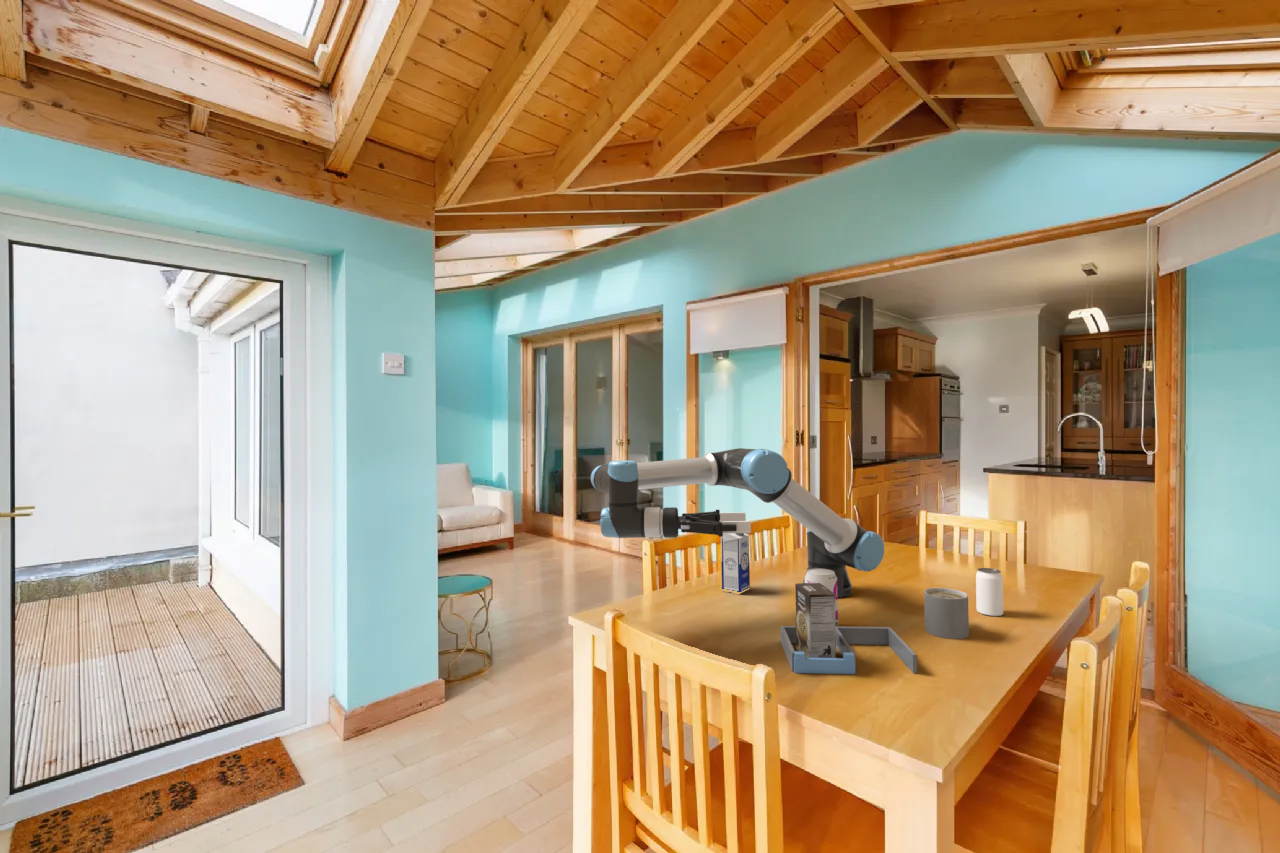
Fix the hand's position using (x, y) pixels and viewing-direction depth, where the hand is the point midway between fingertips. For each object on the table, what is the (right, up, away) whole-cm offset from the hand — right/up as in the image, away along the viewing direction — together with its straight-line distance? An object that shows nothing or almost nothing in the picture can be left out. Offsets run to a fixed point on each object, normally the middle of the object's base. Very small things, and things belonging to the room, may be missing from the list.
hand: (748, 522), depth 143 cm
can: (+71, -29, +19) cm, 79 cm away
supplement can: (+21, -30, +9) cm, 38 cm away
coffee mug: (+53, -29, +6) cm, 61 cm away
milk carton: (+5, -30, +45) cm, 54 cm away
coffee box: (+14, -30, -9) cm, 34 cm away
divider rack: (+20, -30, -10) cm, 37 cm away
